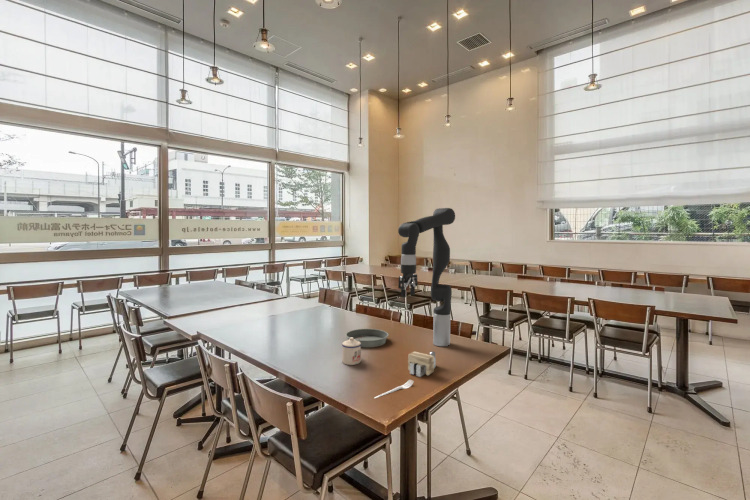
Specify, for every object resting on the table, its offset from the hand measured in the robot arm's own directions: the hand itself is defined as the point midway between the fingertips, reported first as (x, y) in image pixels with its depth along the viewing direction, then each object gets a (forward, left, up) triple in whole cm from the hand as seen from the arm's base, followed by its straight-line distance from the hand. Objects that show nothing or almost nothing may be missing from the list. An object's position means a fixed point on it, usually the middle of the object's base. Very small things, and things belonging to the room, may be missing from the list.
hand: (408, 296), depth 178 cm
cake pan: (-7, -31, -31) cm, 44 cm away
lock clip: (+15, +16, -29) cm, 37 cm away
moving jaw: (+11, +15, -30) cm, 35 cm away
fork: (+37, +17, -31) cm, 51 cm away
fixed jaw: (+13, +17, -30) cm, 37 cm away
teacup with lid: (+22, -17, -30) cm, 41 cm away
